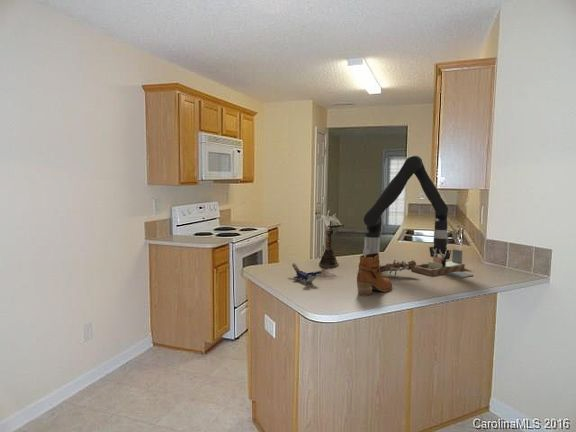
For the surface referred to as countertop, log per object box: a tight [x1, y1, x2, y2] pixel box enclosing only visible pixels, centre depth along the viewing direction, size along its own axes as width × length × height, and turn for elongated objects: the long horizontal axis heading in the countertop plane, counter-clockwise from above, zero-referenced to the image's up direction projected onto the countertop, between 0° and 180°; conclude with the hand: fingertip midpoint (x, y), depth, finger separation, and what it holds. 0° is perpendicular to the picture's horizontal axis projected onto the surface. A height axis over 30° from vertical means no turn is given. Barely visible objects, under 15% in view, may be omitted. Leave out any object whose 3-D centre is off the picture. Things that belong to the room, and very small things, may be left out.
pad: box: [446, 271, 474, 279], centre depth 226 cm, size 10×10×1 cm
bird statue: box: [318, 209, 345, 269], centre depth 245 cm, size 17×13×35 cm
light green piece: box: [428, 248, 466, 269], centre depth 241 cm, size 22×9×9 cm, turn 121°
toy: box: [291, 262, 322, 284], centre depth 212 cm, size 10×23×10 cm, turn 27°
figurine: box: [380, 259, 417, 278], centre depth 223 cm, size 10×10×28 cm
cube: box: [432, 255, 446, 266], centre depth 238 cm, size 5×5×5 cm
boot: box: [356, 252, 393, 297], centre depth 193 cm, size 24×9×19 cm, turn 125°
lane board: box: [410, 260, 466, 277], centre depth 238 cm, size 30×14×3 cm, turn 121°
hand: (439, 265), depth 238 cm, fingers closed on cube, 5 cm apart
